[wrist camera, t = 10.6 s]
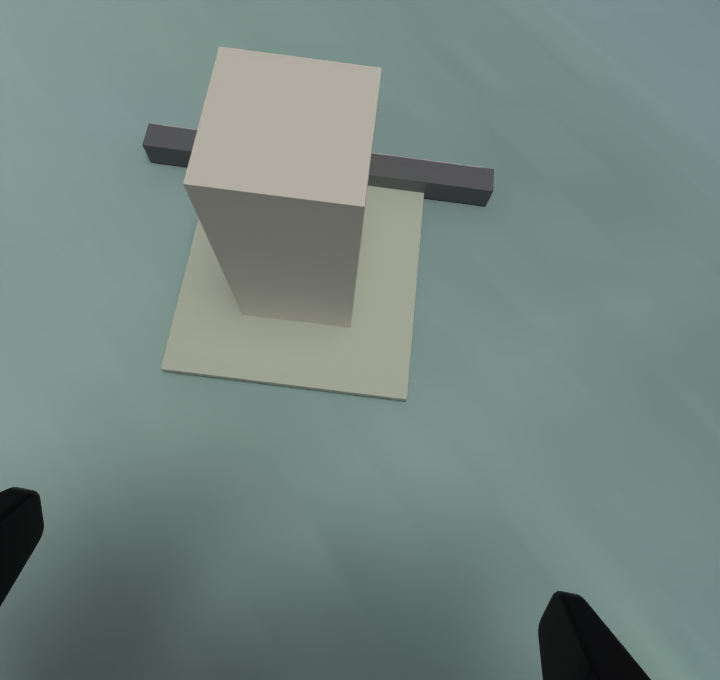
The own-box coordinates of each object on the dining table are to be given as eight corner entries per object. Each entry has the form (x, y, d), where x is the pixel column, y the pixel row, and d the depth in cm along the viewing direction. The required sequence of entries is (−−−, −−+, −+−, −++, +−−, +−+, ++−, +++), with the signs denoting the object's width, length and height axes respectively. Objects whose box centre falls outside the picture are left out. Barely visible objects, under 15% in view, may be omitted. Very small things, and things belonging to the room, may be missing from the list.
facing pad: (163, 371, 21) (160, 368, 20) (214, 169, 24) (212, 163, 23) (405, 401, 21) (406, 399, 20) (422, 196, 24) (424, 191, 24)
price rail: (151, 162, 24) (142, 144, 23) (158, 139, 24) (149, 120, 23) (485, 206, 24) (493, 191, 23) (486, 182, 24) (493, 166, 23)
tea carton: (350, 327, 21) (364, 206, 13) (242, 314, 21) (183, 183, 13) (362, 230, 23) (382, 64, 14) (261, 217, 23) (220, 42, 14)
